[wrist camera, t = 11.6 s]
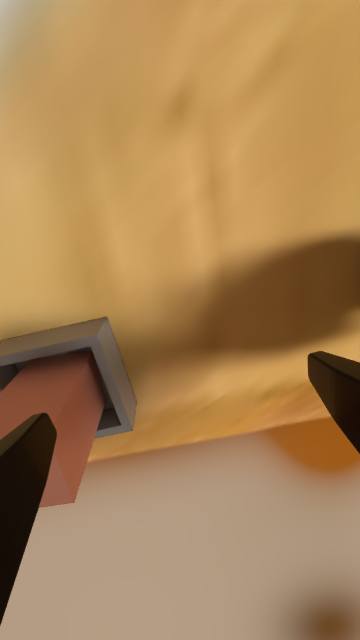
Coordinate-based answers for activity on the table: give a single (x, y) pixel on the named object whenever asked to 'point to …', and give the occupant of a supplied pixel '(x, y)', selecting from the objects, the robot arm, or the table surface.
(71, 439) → the red block
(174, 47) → the table surface
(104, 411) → the open box
